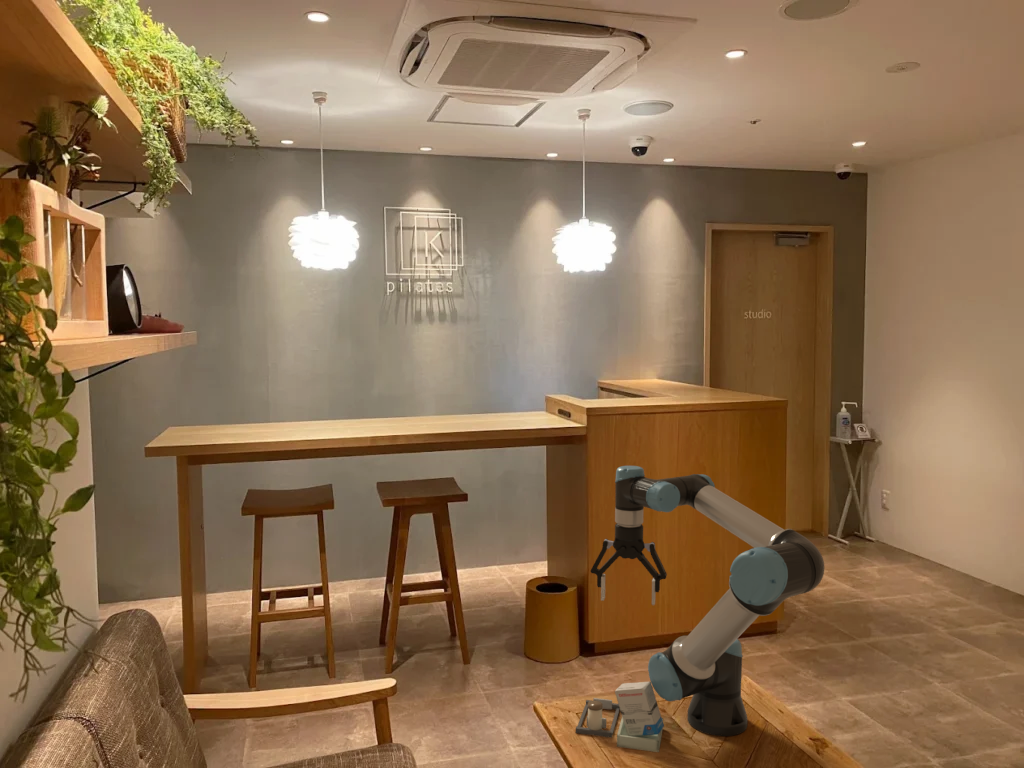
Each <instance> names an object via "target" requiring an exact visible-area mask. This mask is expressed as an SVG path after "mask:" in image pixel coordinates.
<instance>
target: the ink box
mask: <svg viewBox="0 0 1024 768" xmlns="http://www.w3.org/2000/svg"><path fill="white" fill-rule="evenodd" d="M614 694H615V698H616V700H617V704H619V707H620V711H619V712H620V714H621V718H622V717H623V721H624V724H625V727H626V731H627V734H628V736H638V735H657V734H659V733H660V731H661V730H662V728H663V729H664V728H665V724H664V720H663V721H662V718H663V717H662V714H661V711H660V709H659V705H658V701H657V698H656V695H655V691H654V687H653V686H652V683H651V681H642V682H639V681H638V682H626V683H621V684H620V685H619V686H618V687H617V688H616V689H615V691H614Z"/></svg>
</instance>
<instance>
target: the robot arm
mask: <svg viewBox="0 0 1024 768" xmlns="http://www.w3.org/2000/svg"><path fill="white" fill-rule="evenodd" d="M614 483H615V484H614V485H615V488H614V489H615V493H614V494H615V497H614V498H615V500H614V502H615V505H614V506H615V507H614V510H615V511H614V522H615V524H614V541H613V540H609V539H608V538H605V539H604V540H603V541H602V548H601V550H600V552H599V554H598V556H597V558H596V559H595V561H594V564H593V565H592V567H591V569H590V573H591V574H594V575H596V576H597V578H596V580H597V581H596V582H597V584H596V585H597V586H596V587H597V588H600V601H601V602H602V601H605V599H606V574H605V572H606V571H607V570H608V569H609V568H610V567H611V566H612V565H613V563H614V562H615V561H616V560H618V559H619V558H622V559H625V560H626V559H630V560H635V559H637V560H638V561H639V562H640V563H641V565H642V566H643V567H644V568H645V570H647V572H648V573H649V574H650V576H652V579H651V605H652V606H655V605H656V595H657V594H656V593H660V589H661V581H662V580H666V579H667V576H668V573H667V570H666V569H665V567H664V565H663V563H662V561H661V559H660V558H661V557H660V556H659V554H658V553H657V550H656V543H655V542H654V541H651V542H650V543H647V542H644V525H643V523H644V509H645V508H647V509H649V510H650V509H651V510H654V511H656V512H659V513H660V512H662V513H663V512H664V513H671V512H673V511H674V510H675V509H676V508H677V507H681V506H682V507H683V506H690V507H691V508H692V509H694V510H696V511H697V512H699V513H701V514H702V515H704V516H705V517H707V519H710V520H711V521H712V522H714V523H715V524H717V525H719V526H720V527H722V528H723V529H725V530H726V531H728V532H729V533H731V534H732V535H734V536H735V537H737V538H739V539H740V540H741V541H743V542H745V543H747V544H748V545H749V546H751V547H752V548H750V549H749V550H745V551H743V552H742V553H740V554H738V555H737V556H736V557H735V558H734V559H733V561H732V563H731V565H730V568H729V569H730V570H729V573H731V574H730V575H729V579H728V580H729V581H728V586H729V589H727V590H726V592H725V593H724V594H723V595H722V596H721V597H720V598H719V600H718V601H717V602H716V603H715V604H714V605H713V607H711V609H710V610H709V611H708V612H707V613H706V614H705V615H704V617H703V618H702V619H701V620H700V621H699V622H698V624H697V625H696V626H695V627H694V628H693V629H692V630H691V631H690V633H689V634H688V635H682V636H679V637H677V638H676V639H675V640H674V641H673V642H672V643H671V644H670V646H669V647H668V648H667V649H666V650H664V651H658V652H656V653H655V654H653V655H652V656H650V658H649V660H648V663H647V664H648V665H647V670H648V678H649V680H650V681H649V682H651V685H652V688H653V690H655V691H654V692H655V693H657V694H658V696H659V697H660V698H661V699H664V700H665V701H667V702H675V701H681V700H683V699H685V698H688V697H691V696H692V698H691V700H690V703H689V705H688V708H687V722H688V724H689V725H690V726H691V727H693V729H696V730H697V731H699V732H701V733H704V734H707V735H713V736H717V737H718V736H719V737H730V736H736V735H740V734H742V733H744V732H745V731H746V730H747V727H748V715H747V710H746V707H745V704H744V701H743V698H742V673H743V670H742V667H743V651H742V650H743V649H742V647H743V646H742V643H741V641H740V640H739V637H740V636H741V635H742V634H743V633H744V632H745V631H746V630H747V629H748V628H749V627H750V626H751V625H752V624H753V623H754V622H755V621H756V620H757V619H758V618H759V616H760V617H764V616H769V615H771V614H772V613H774V611H776V610H777V608H779V606H780V605H782V603H783V602H784V601H785V600H787V599H789V598H792V597H795V596H800V595H803V594H806V593H810V592H811V591H813V590H814V589H816V588H817V587H818V586H819V585H820V583H821V581H822V579H823V578H824V575H825V561H824V557H823V556H822V553H821V552H820V550H819V548H818V547H817V546H816V545H815V544H814V543H813V542H812V541H811V540H809V539H808V538H807V537H806V536H804V535H802V534H801V533H799V532H797V531H796V530H794V529H792V528H787V529H784V528H782V527H780V526H779V525H777V524H776V523H774V522H772V521H770V520H769V519H767V518H766V517H764V516H763V515H761V514H759V513H758V512H756V511H754V510H752V509H751V508H749V507H747V506H746V505H744V504H743V503H741V502H739V501H737V500H735V499H734V498H732V497H731V496H729V495H728V494H726V493H724V492H723V491H721V490H719V489H718V488H716V487H715V483H714V481H712V477H710V476H709V475H708V474H707V475H706V474H702V473H701V474H699V473H697V474H695V473H693V474H689V475H683V476H674V477H666V478H659V479H653V478H649V477H646V475H645V469H644V468H643V467H642V466H639V465H638V466H637V465H622V466H619V467H617V469H616V471H615V481H614ZM612 546H613V548H614V550H615V551H614V553H613V555H612V556H611V557H610V558H608V560H607V561H605V563H604V564H603V565H602V566H601V567H600V569H599V568H598V567H599V565H600V563H601V561H602V560H603V558H604V556H605V554H606V552H607V550H609V549H610V548H611V547H612ZM644 549H646V550H647V552H649V553H650V557H651V558H652V559H653V562H654V564H655V566H656V568H657V570H658V571H657V570H656V569H655V567H654V566H653V565H652V564H651V562H650V561H649V560H648V558H647V557H646V556H645V554H644V553H643V551H644Z"/></svg>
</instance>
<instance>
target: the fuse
mask: <svg viewBox="0 0 1024 768" xmlns="http://www.w3.org/2000/svg"><path fill="white" fill-rule="evenodd" d="M602 708H603V704H602V703H601V702H599V701H593V700H591V701H590V702H588V710H587V716H588V726H587V728H589V729H591V730H603V728H602V718H603V709H602Z"/></svg>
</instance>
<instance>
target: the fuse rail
mask: <svg viewBox="0 0 1024 768" xmlns="http://www.w3.org/2000/svg"><path fill="white" fill-rule="evenodd" d="M590 701H599V702H601V703H602V704H603V708H602V710H603V709H604V710H615V713H614V714H613V720H612V723H611V724H610V725H611V726H610V730H606V729H607V717H606V718H605V717H602V730H591V729H589V728H588V715H587V713H588V702H590ZM620 712H621V711H620V707H619V704H618V703H615V702H613V700H612V699H606V698H598V697H593V699H592V700H589V699H586V700H585V705H584V708H583V710H582V713H581V715H580V718H579V721H578V722H577V723H578V724H577V726H575V733H576V734H582V735H589V736H595V737H597V736H598V737H604V738H611V739H612V737H613V734H614V731H615V727H616V725H617V721H618V719H619V718H618V717H619V713H620ZM586 715H587V716H586ZM585 717H586V727H585V726H584V727H583V726H582V725H583V723H584V721H585Z"/></svg>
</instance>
